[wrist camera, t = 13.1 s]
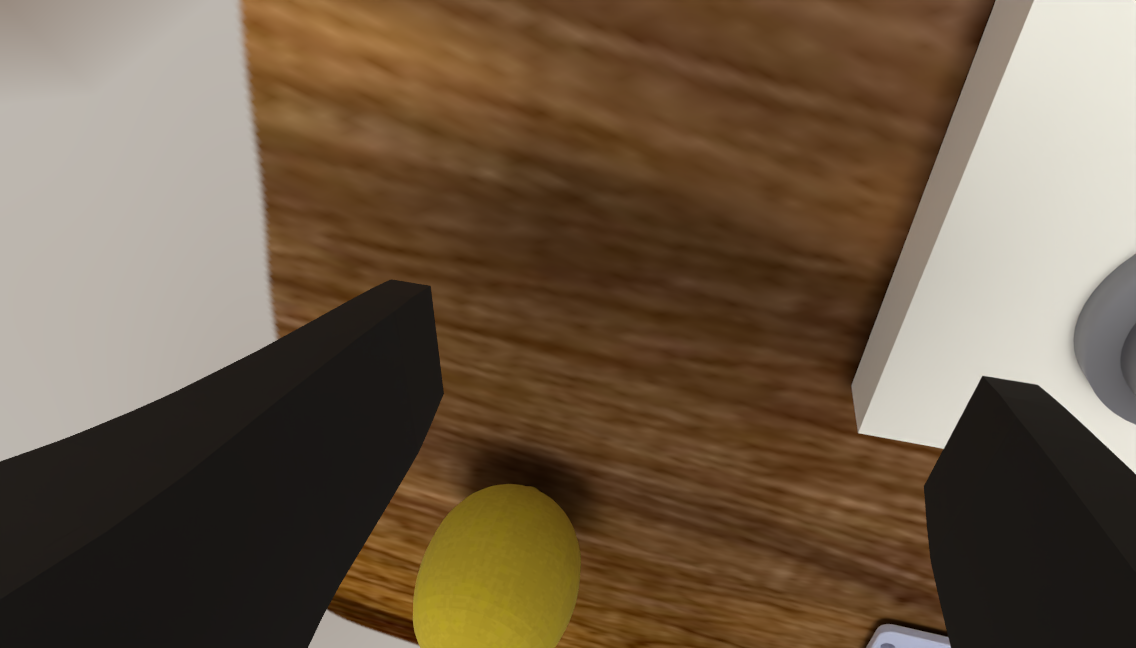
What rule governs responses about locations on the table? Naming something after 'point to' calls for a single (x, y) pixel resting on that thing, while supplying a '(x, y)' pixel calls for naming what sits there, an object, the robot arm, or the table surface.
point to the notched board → (1021, 236)
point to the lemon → (498, 573)
